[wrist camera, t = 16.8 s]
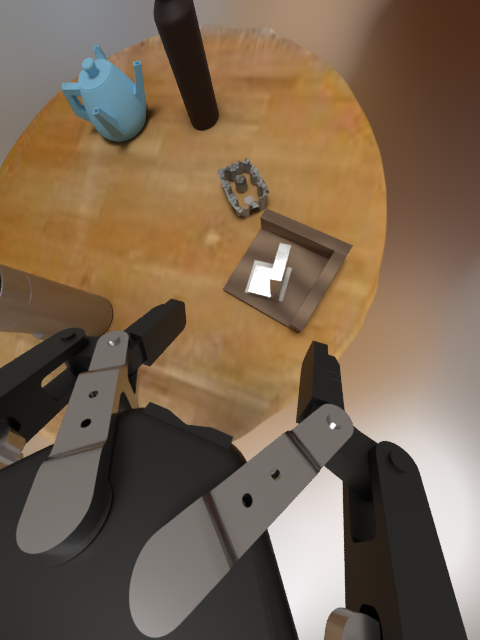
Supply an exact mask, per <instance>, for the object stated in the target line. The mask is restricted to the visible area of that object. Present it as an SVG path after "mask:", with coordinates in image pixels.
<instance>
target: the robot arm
mask: <svg viewBox="0 0 480 640" xmlns="http://www.w3.org/2000/svg"><path fill="white" fill-rule="evenodd" d="M112 313H113V312H112V307H111V304H110V303H109V301H108V300H107V299H105V298H103V297H101V296H98V295H96V294H92V293H89V292H86V291H83V290H79V289H76V288H73V287H70V286H67V285H64V284H61V283H58V282H54V281H51V280H48V279H45V278H42V277H39V276H36V275H33V274H30V273H26V272H23V271H20V270H17V269H14V268H11V267H8V266H5V265H1V264H0V331H1V332H15V333H28V334H32V335H33V336H34V337H35V338H37V339H41V340H45V341H43V342H41V343H40V344H38V345H37V346H35V347H33V348H32V349H30V350H29V351H27V352H25V353H24V354H22V355H21V356H19V357H17V358H16V359H14V360H13V361H11V362H9V363H8V364H6V365H5V366H3V367H2V368H0V640H299V639H298V635H297V632H296V628H295V624H294V621H293V617H292V614H291V610H290V607H289V603H288V600H287V596H286V593H285V589H284V586H283V582H282V579H281V575H280V572H279V568H278V565H277V561H276V557H275V554H274V551H273V547H272V543H271V540H270V536H269V533H268V529H267V528H268V527H269V526H270V525H271V523H273V522H274V520H275V519H276V518H277V517H278V516H279V515H280V514H281V513H282V512H283V511H284V510H285V508H287V506H288V505H289V504H290V503H291V502H292V501H293V500H294V499H295V498H296V497H297V496H298V494H299V493H300V492H301V491H302V490H303V489H304V488H305V487H306V486H307V485H308V484H309V483H310V482H311V481H312V479H313V478H314V477H315V476H316V475H317V474H318V473H319V471H320V469H321V468H322V467H323V466H325V467H326V468H327V469H329V470H330V471H331V472H332V473H334V474H335V475H336V476H337V477H339V478H340V479H341V480H342V481H343V517H344V557H345V558H344V561H345V601H346V602H345V604H346V608H337V609H335V610H334V611H333V612H332V613H331V614H330V616H329V618H328V620H327V623H326V628H325V636H324V640H468V639H467V636H466V632H465V628H464V625H463V621H462V618H461V614H460V611H459V608H458V604H457V601H456V597H455V594H454V590H453V587H452V583H451V580H450V577H449V573H448V569H447V566H446V562H445V559H444V556H443V552H442V549H441V545H440V542H439V538H438V535H437V531H436V528H435V524H434V521H433V517H432V514H431V511H430V507H429V503H428V500H427V496H426V493H425V490H424V486H423V483H422V479H421V476H420V472H419V470H418V467H417V465H416V464H415V462H414V460H413V459H412V458H411V457H410V455H409V454H408V453H407V452H406V451H404V450H403V449H402V448H401V447H400V446H398V445H396V444H394V443H392V442H388V441H382V442H380V443H376V442H375V441H373V440H372V439H370V438H369V437H367V436H366V435H364V434H363V433H361V432H360V431H359V430H358V429H356V428H355V427H354V426H353V423H352V421H351V419H350V417H349V416H348V415H347V413H345V410H344V402H343V392H342V383H341V375H340V374H341V373H340V365H339V363H338V361H337V360H336V358H335V357H334V356H331V355H328V345H327V344H323V343H320V342H316V341H312V343H311V345H310V347H309V349H308V351H307V354H306V356H305V358H304V360H303V363H302V368H301V377H300V387H299V397H298V408H297V418H296V423H299V425H298V426H296V427H295V428H294V429H293V430H291V431H286V432H285V433H283V434H282V435H281V436H280V437H278V438H277V439H276V440H275V441H273V442H272V443H271V444H270V445H268V446H267V447H266V448H264V449H263V450H262V451H261V452H259V453H258V454H257V455H256V456H254V457H253V458H252V459H251V460H249V462H247V461H246V459H245V458H244V456H243V455H242V453H241V452H240V451H239V450H238V449H237V447H235V446H234V445H233V444H232V438H233V437H232V436H230V435H228V434H225V433H223V432H221V431H218V430H216V429H213V428H211V427H202V426H193V425H187V424H185V423H184V422H182V421H181V420H180V419H179V418H178V417H177V416H175V415H174V414H173V413H172V412H171V411H170V410H168V409H166V408H163V407H161V406H158V405H156V404H154V403H151V402H149V404H148V405H147V406H146V408H139V404H138V390H139V376H140V368H139V367H140V366H141V365H142V364H145V365H147V366H151V365H152V364H153V363H154V362H155V360H156V359H157V358H158V357H159V356H160V355H161V354H162V353H163V352H164V350H165V349H166V348H167V347H168V346H169V345H170V344H171V343H172V342H173V341H174V339H175V338H176V337H177V336H178V335H179V334H180V333H181V332H182V331H183V329H184V328H185V325H186V313H185V304H184V302H182V301H178V300H175V299H170V300H169V301H168V302H166V303H165V304H161V305H159V306H156V307H154V308H153V309H151V310H150V311H149V312H148V313H146V314H145V315H144V316H143V317H141V318H140V319H138V320H137V321H136V322H135V323H133V324H132V325H131V326H129V327H128V328H127V329H126V330H124V331H112V332H109V333H106V334H104V335H103V336H101V337H98V336H100V335H101V334H103V333H104V332H105V331H106V330H107V329H108V327H109V325H110V323H111V320H112ZM63 363H65V364H66V366H67V367H68V368H67V369H66V370H64V371H63V372H62V373H61V374H59V375H58V376H57V377H56V378H54V379H53V380H52V381H51V382H49V383H48V384H47V385H46V386H44V387H43V388H42V387H41V382H42V380H43V379H44V378H45V377H46V376H47V375H48V374H50V373H51V372H52V371H54V370H55V369H56V368H57V367H59V366H60V365H61V364H63ZM67 404H68V406H67V409H66V412H65V415H64V418H63V420H62V423H61V426H60V429H59V432H58V435H57V437H56V440H55V443H54V444H53V445H50V446H48V447H46V448H44V449H42V450H39V451H37V452H35V453H33V454H31V455H29V456H27V457H25V458H23V453H21V452H22V450H23V448H24V446H25V444H26V443H27V442H28V441H29V440H30V439H31V438H32V437H33V436H34V435H36V434H37V433H38V432H39V431H40V430H41V429H42V428H43V427H44V426H45V425H46V424H47V423H48V422H49V421H50V420H51V419H52V418H53V417H54V416H55V415H56V414H57V413H59V412H60V411H61V410H62V409H63V408H64V407H65V406H66V405H67Z"/></svg>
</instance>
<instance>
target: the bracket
mask: <svg viewBox="0 0 480 640" xmlns="http://www.w3.org/2000/svg"><path fill="white" fill-rule="evenodd" d="M290 250H291V245H287V244H282V243H280V245H279V248H278V251H277V255H276V258H275V262H274V265H273V268H267V267H262V266H258V265H256V268H255V271H254V274H253V277H252V281H251V284H250V287H249V290H248V292H249V294H252V295H256V296H260V297H264V298H268V299H272V300H276V301H279V299H280V295H281V292H282V288H283V285H284V281H285V278H286V273H287V268H288V262H289V256H290Z"/></svg>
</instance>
